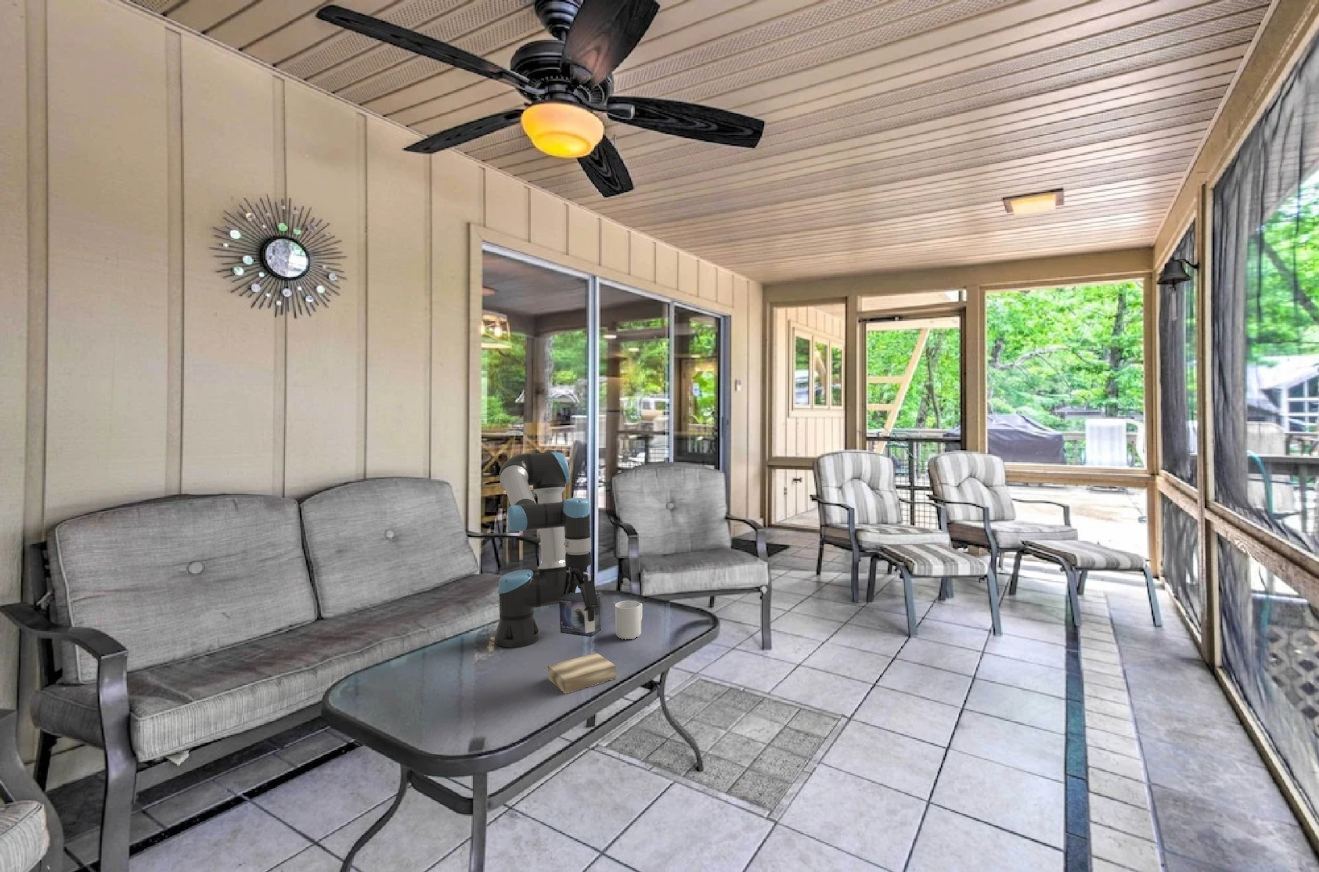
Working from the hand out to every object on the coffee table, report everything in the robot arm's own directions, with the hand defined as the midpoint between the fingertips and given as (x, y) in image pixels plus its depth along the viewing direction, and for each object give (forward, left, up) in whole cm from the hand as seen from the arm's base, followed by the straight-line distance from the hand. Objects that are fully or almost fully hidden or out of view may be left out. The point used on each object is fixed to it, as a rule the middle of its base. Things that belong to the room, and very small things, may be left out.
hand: (580, 625), depth 176 cm
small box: (0, 0, -2) cm, 2 cm away
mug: (-22, +30, -16) cm, 40 cm away
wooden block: (0, 0, -16) cm, 16 cm away
